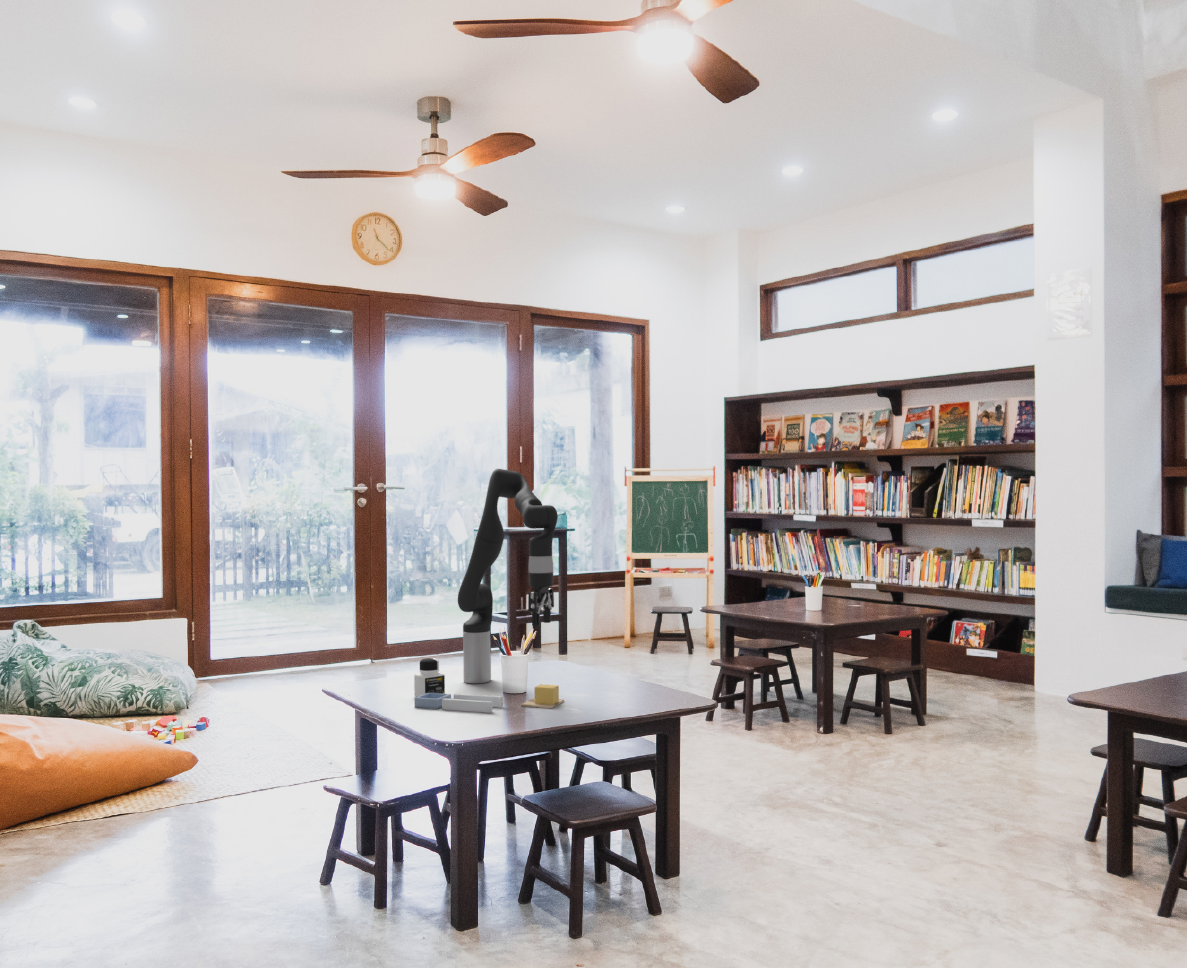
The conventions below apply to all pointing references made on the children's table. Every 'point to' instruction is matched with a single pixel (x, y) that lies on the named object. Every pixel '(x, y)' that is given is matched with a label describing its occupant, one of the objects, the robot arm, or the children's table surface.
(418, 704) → the bin
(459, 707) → the frosted channel
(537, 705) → the cork pad
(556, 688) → the ochre block
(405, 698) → the children's table surface
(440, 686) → the medicine bottle
